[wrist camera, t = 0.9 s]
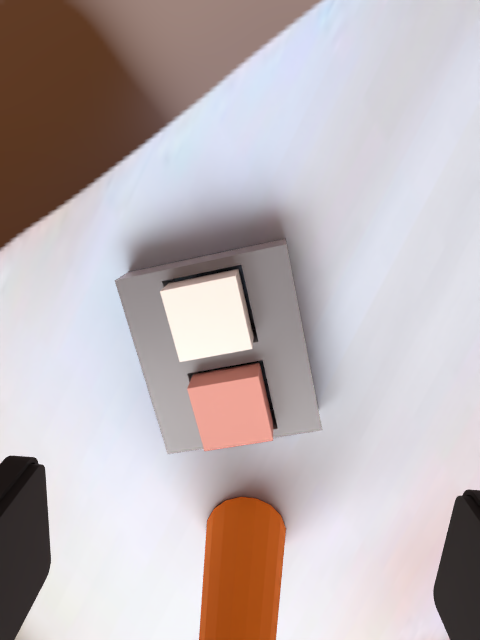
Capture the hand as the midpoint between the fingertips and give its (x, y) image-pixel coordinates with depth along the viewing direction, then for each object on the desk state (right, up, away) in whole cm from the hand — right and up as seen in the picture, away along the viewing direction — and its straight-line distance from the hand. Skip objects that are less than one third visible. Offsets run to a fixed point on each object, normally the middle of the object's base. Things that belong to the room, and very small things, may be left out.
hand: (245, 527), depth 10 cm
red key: (-1, -1, +23) cm, 23 cm away
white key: (-2, +5, +21) cm, 22 cm away
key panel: (-1, +3, +25) cm, 25 cm away
